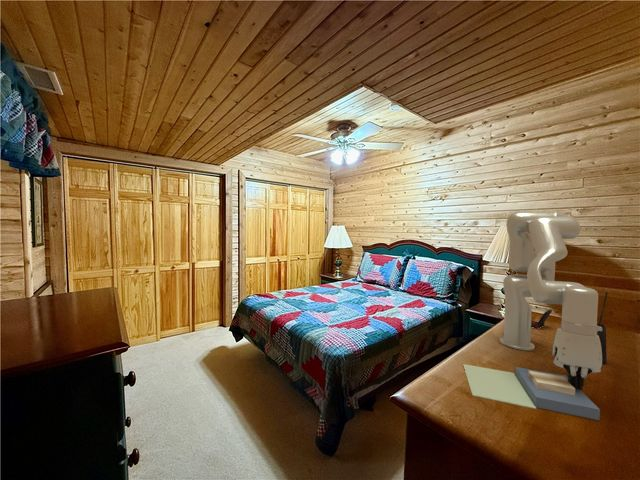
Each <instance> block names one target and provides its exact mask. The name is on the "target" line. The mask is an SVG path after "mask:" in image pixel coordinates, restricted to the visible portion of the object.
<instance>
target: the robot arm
mask: <svg viewBox="0 0 640 480" xmlns="http://www.w3.org/2000/svg"><path fill="white" fill-rule="evenodd" d="M506 231H507V234H508V238H509V251H508V266H509V269H510V270H511V271H513V272H518V273H526V274H509V275H506V276H505V277H504V279H503V281H502V284H503V291H504V319H503V320H504V323H503V324H504V325H503V336H501V337H499V342H500V343H501V344H502V345H504V346H506V347H508V348H511V349H515V350H520V351H529V352H530V351H534V350H535V347H536V346H535V344H534V343H533V342H531V335H532V334H531V333H532V332H531V330H532V328H531V321H532V310H533V309H532V306H531V305H532V304H531V303H529V301H528V300H527V298H533V299H534V301H536V302H538V303H541V304H549V305H562V306H561V307H562V308H561V321H560V322H561V326H560V328H559V327H558V328H557V330H556V332H555V335H554V339H553V345H552V357H553V358H554V360H553V364H554V365H555V366H557V367H558V368H559V367H560V368H562V369H565V370H566V372H567V377H568V382H569V383H570V384H571V385H572V386H573V387H574V388H575V389H576V390H577V389H578V390H581V391H582V390H583V387H584V386H585V385H584V380H585V379H586V378H587V376H589V375H590V374H591V373H601V371H602V369H601V368H602V366H603V364H602V349H601V343H600V339H599V336H598V335H597V331H602V327H601V326H598V325H597V324H598V307H599V293H598V291H597V290H595V289H593V288H590V287H587V286H584V285H583V284H581V283H579V282H573V281H561V280H560V281H558V280H555V278H556V277H555V276H556V275H555V273H556V262H559V261H561V260H563V259H564V258H566V257H567V256H568V253H569V252H568V249H567V246H566V242H564V241H565V240H572V239H577V237H578V236H579V235H580V232H581V225H580V223H579V221H578V220H577V219H576V218H575V217H574V216H572V215H568V214H566V213H562V212H559V211H552V210H551V211H549V210H548V211H547V210H546V211H536V210H535V211H532V210H531V211H530V210H529V211H528V210H527V211H517V212H513V213H510V214H509V216H508V217H507V219H506ZM582 392H583V391H582Z"/></svg>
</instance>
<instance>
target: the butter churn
mask: <svg viewBox="0 0 640 480" xmlns="http://www.w3.org/2000/svg"><path fill="white" fill-rule="evenodd" d="M607 297H608V291H606V292H605V295H604V299H603V303H602V309H601V311H600V316H599V321H598V323H597V325H598V326H601V327H602V331H597V335H598V336H599V339H600V343H601V349H602V365H607V364H608V356H607V341H608V340H607V327H606V325H605V324H602V318H603V315H604V310H605V305H606V301H607Z"/></svg>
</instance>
